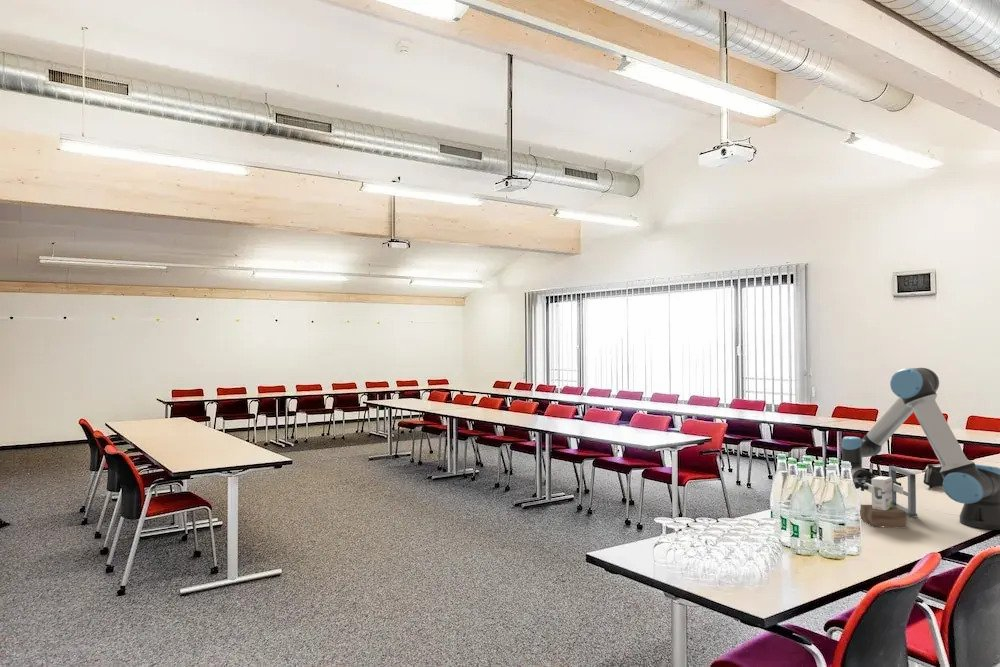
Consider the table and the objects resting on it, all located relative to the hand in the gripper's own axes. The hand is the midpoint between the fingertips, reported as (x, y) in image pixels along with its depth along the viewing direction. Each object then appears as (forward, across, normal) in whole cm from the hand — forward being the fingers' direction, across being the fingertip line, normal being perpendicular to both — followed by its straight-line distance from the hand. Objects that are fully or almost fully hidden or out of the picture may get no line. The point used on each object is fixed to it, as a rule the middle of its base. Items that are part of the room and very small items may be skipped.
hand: (887, 490), depth 244 cm
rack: (-25, -17, -14) cm, 34 cm away
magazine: (-80, -61, -14) cm, 102 cm away
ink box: (-4, 0, -8) cm, 9 cm away
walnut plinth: (-4, 0, -14) cm, 15 cm away
